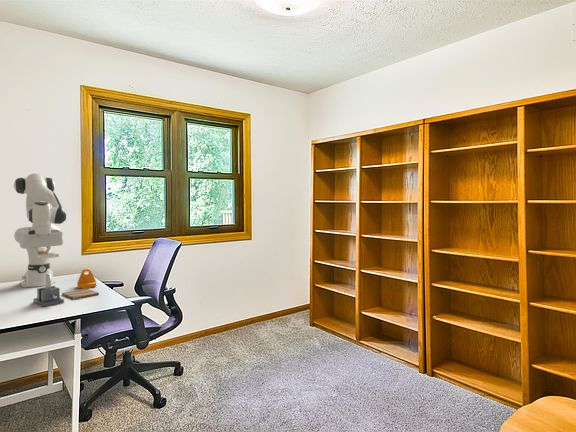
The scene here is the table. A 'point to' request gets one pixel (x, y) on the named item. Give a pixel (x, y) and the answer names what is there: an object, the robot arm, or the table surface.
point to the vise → (48, 294)
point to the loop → (46, 255)
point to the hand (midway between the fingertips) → (42, 254)
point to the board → (80, 294)
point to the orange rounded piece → (86, 280)
